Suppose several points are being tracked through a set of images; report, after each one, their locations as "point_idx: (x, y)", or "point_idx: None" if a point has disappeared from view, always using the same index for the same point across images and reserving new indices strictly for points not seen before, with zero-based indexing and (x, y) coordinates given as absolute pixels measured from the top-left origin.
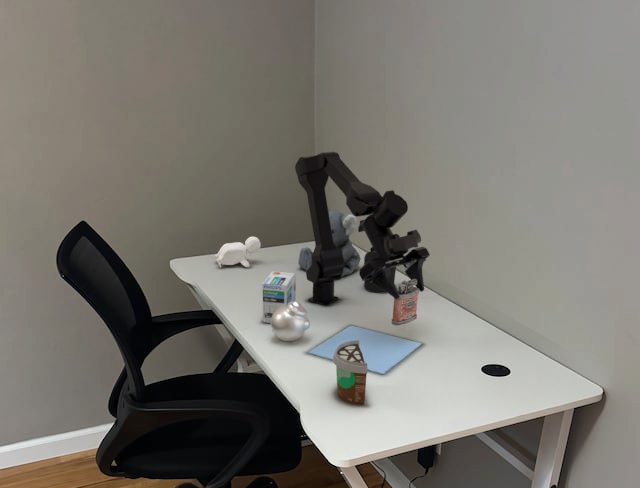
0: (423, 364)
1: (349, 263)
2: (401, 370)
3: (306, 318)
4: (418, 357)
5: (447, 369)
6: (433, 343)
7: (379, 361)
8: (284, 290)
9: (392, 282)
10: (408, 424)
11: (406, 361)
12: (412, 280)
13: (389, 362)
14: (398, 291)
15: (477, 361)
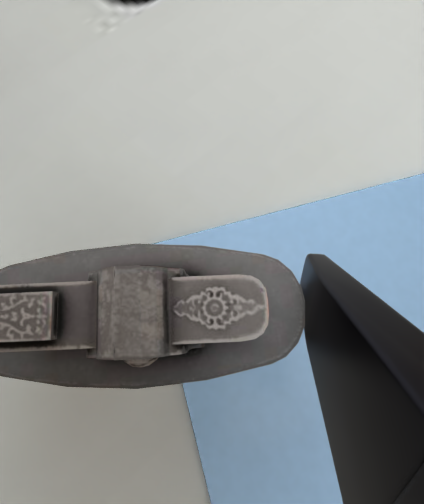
0: (279, 131)
1: None
2: (377, 148)
3: None
4: (249, 178)
5: (245, 59)
6: (105, 222)
7: (402, 238)
8: None
9: (403, 354)
10: None
11: (309, 184)
12: (6, 308)
13: (377, 208)
14: (200, 367)
15: (118, 35)
